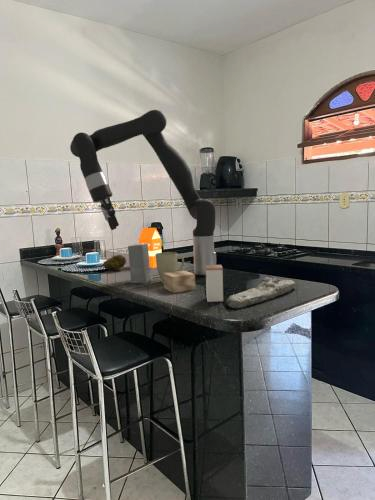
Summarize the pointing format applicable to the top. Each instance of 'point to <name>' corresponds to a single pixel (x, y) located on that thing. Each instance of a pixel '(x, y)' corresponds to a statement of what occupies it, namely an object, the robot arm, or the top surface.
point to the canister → (214, 283)
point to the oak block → (179, 281)
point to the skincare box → (139, 263)
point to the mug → (167, 263)
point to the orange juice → (151, 243)
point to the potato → (115, 262)
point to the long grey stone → (261, 292)
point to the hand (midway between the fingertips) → (115, 228)
